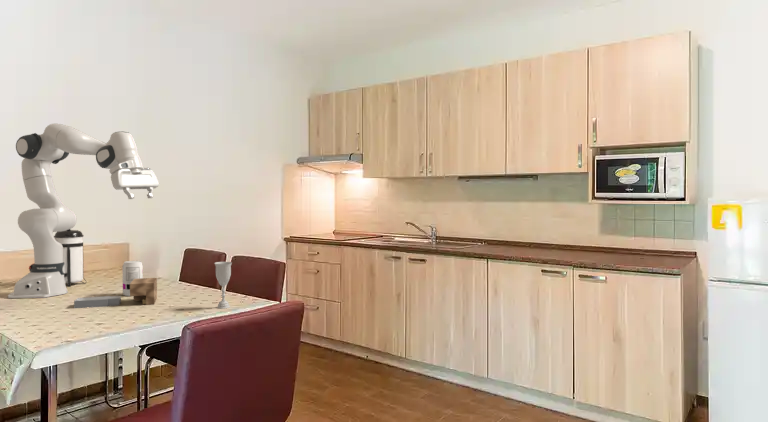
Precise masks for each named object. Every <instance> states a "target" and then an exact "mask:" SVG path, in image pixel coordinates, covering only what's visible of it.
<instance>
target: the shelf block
mask: <svg viewBox="0 0 768 422" xmlns="http://www.w3.org/2000/svg"><path fill="white" fill-rule="evenodd" d="M129 297H133V301H135V302H136V301H142V305H146V306H150V305H151V306H154V305H155V303H156V301H157V300H158V278H157V277H143V278H140V279H134V280H133V281H132V282H131V283H130V296H129Z"/></svg>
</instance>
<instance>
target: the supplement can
mask: <svg viewBox="0 0 768 422" xmlns="http://www.w3.org/2000/svg"><path fill="white" fill-rule="evenodd" d="M143 269H144V268H143V263H142V260H128V261H124V262H123V264H122V295H123V296H125V297H131V296H130V283H131V282H132V281H133V280H134V279H140V278H144V276H143V273H144V272H143V271H144V270H143Z"/></svg>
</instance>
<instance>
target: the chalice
mask: <svg viewBox="0 0 768 422" xmlns="http://www.w3.org/2000/svg"><path fill="white" fill-rule="evenodd" d="M232 264H233V262H232V261H216V262H214V266H215V278H216V279H217V282H218V284H219V285H220V286H221V287H222V288H221V292H222V293H221V295H220V296H221V298H222V299H221V301H219V302H218V305H217V307H216V308H217V309H229V308H231V306H230V303H229V301H228V300H226V298H225V297H226V294H225V293H226V289H225V287H226V286H227V285H228V283H229V281H230V279H231V275H232V267H231V266H232Z"/></svg>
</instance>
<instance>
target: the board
mask: <svg viewBox="0 0 768 422" xmlns="http://www.w3.org/2000/svg"><path fill="white" fill-rule="evenodd" d="M121 299H122V295H115V296H112V295H105V296H90V297H89V296H88V297H87V296H86V297H77V298H75V300H74V301H73V309H84V308H85V309H86V308H87V307H89V308H104V307H105V308H106V307H111V306H113V307H114V306H120V304H121V303H122V300H121ZM87 309H88V308H87Z"/></svg>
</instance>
